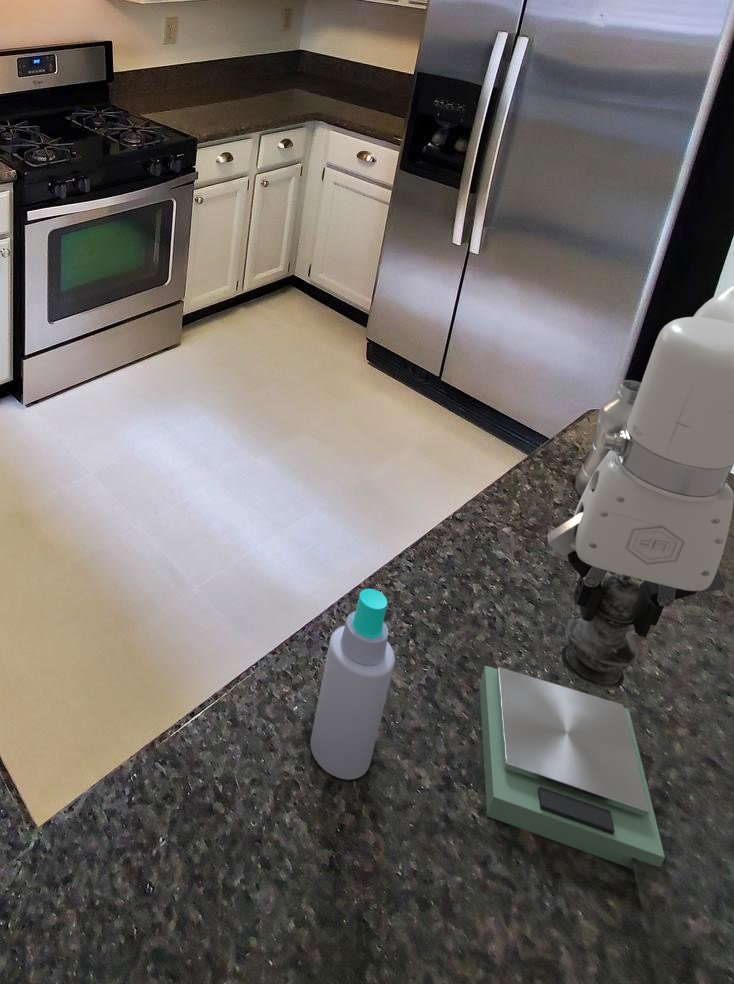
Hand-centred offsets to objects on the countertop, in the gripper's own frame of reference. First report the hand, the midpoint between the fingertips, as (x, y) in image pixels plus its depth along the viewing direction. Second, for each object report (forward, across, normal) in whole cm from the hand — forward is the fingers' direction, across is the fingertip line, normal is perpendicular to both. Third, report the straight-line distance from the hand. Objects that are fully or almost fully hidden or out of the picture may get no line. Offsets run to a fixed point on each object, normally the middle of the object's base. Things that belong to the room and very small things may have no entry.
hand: (611, 616), depth 75 cm
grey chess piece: (+7, 0, 0) cm, 7 cm away
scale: (+20, 0, -1) cm, 20 cm away
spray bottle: (+21, -21, -8) cm, 31 cm away
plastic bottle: (+21, +11, +49) cm, 54 cm away
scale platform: (+17, 0, 0) cm, 17 cm away
